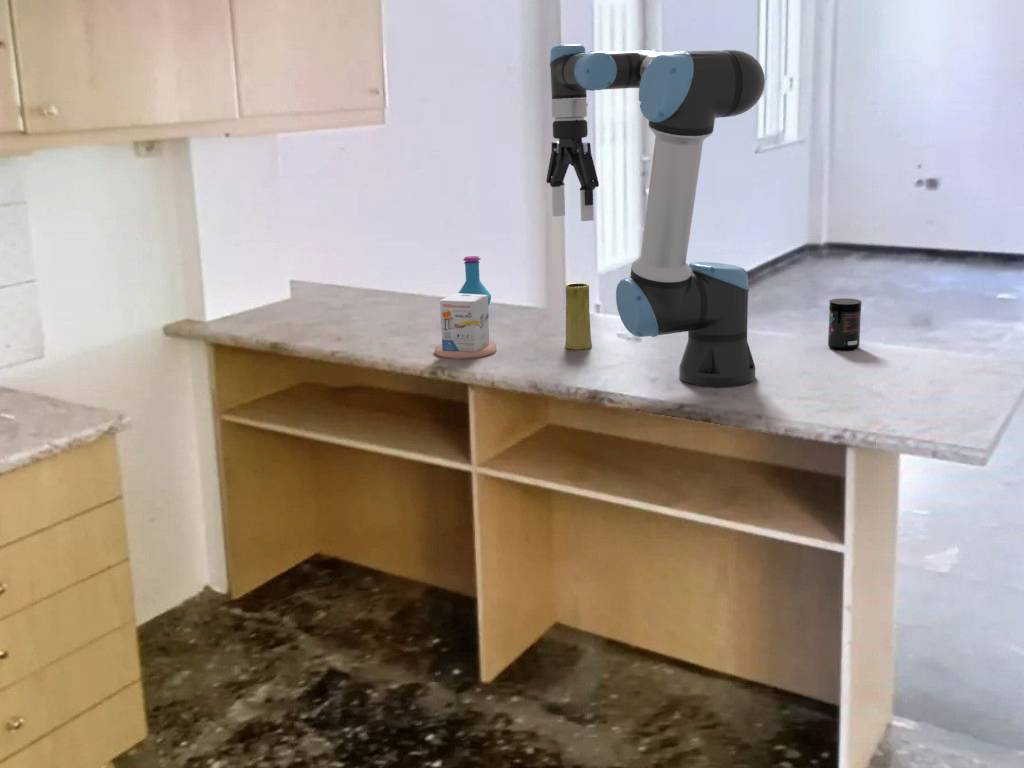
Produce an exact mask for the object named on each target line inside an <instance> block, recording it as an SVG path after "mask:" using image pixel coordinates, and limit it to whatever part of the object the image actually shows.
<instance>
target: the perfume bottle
mask: <svg viewBox="0 0 1024 768" xmlns="http://www.w3.org/2000/svg"><path fill="white" fill-rule="evenodd" d="M480 260H481V257H479V256H476V255H469V256H468V255H467V256H465V257H464V258H463V259H462V261H464V266H465V267H464V268H465V270H464V271H465V272H464V273H465V282H464V283H463V284H462V287H461V288H460V289H459V291H458V292H457V293H463V294H480V295H488V307H489V305H490V303H491V300H492V295H491V293H490V292H489V291H488V289H487V288H486V287H485V286H484V285H483V283H482V281H480Z"/></svg>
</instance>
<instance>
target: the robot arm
mask: <svg viewBox="0 0 1024 768" xmlns="http://www.w3.org/2000/svg"><path fill="white" fill-rule="evenodd" d="M549 67H550V87H551V88H550V89H551V118H553V119H554V121H553V122H552V137H553V138H554V139H557V140H558V141H552V142H551V153H550V159H549V162H548V163H549V164H548V169H547V175H546V183H547V184H549V185H550V187H551V197H552V198H551V200H552V201H551V202H552V203H551V204H552V216H553V217H563V216H564V217H565V216H566V205H565V204H566V201H565V199H566V198H565V182H564V179H565V177H566V174H567V171H568V169H569V166H572V167H573V168H574V169H573V170H574V171H575V174H576V177H577V180H578V182H579V183H580V188H579V195H580V196H579V199H580V201H579V202H580V203H579V204H580V221H581V222H589V221H594V220H595V219H594V218H595V216H594V211H595V210H594V190H595V189H596V188H598V187H599V185H600V183H599V179H598V175H597V171H596V168H595V163H594V160H593V159H594V158H593V155H592V148H591V143H590V142H583V138H587V136H588V135H589V134H588V133H589V132H588V131H589V130H588V121H587V120H586V119H585V118H586V117H587V115H588V109H587V107H588V106H589V105H588V104H589V103H587V91H601V90H619V89H620V90H622V89H638V101H639V102H640V105H639V108H640V111H641V113H642V115H643V117H644V118H645V119H646V120H648V128H649V129H650V130H651V131H652V133H653V134H654V137H655V139H654V147H653V154H652V155H653V156H652V162H651V163H652V164H651V171H650V179H649V187H648V194H647V204H646V209H645V210H646V211H645V219H644V226H643V227H644V228H643V235H642V236H643V237H642V244H641V252H640V257H639V258H637V259H635V260H634V261H633V262H632V263H631V268H630V276H629V277H624V278H622V279H620V281H619V282H618V284H617V286H616V290H615V300H616V301H615V303H616V308H617V312H618V315H619V317H620V320H621V323H622V324H623V326H624V327H625V329H626V330H627V331H628V332H629V333H630V334H631V335H633V336H635V337H638V338H644V337H645V338H646V337H652V338H656V337H657V336H663V335H671V334H679V333H684V332H686V333H687V332H688V334H687V335H688V336H687V337H688V338H687V343H686V346H685V348H684V352H683V355H682V358H681V361H680V364H679V369H678V373H679V374H678V375H679V376H678V378H679V379H680V381H683V382H685V383H687V384H691V385H695V386H700V387H701V386H702V387H710V388H711V387H712V388H713V387H714V388H715V387H717V388H718V387H719V388H721V387H735V386H744V385H746V384H750V383H752V382H753V381H754V380H755V379H756V365H755V361H754V358H753V355H752V352H751V348H750V346H749V342H748V322H749V321H748V320H749V319H748V318H749V317H748V315H749V314H748V313H749V311H748V310H749V309H748V308H749V292H750V287H749V286H750V285H749V275H748V272H747V270H746V269H745V268H743V267H741V266H739V265H734V264H729V263H723V262H722V263H720V262H713V261H693V262H692V261H691V262H690V263H689V264H688V263H687V256H688V248H689V242H690V235H691V228H692V222H693V214H694V209H695V207H694V206H695V202H696V201H695V199H696V193H697V185H698V179H699V173H700V165H701V157H702V151H703V145H704V141H705V140H706V139H707V138H708V137H710V136H711V135H712V134H713V132H714V128H715V127H714V126H715V122H716V119H719V118H727V117H728V118H729V117H736V116H739V115H742V114H744V113H746V112H748V111H750V110H751V109H752V108H753V107H754V106H755V105H757V103H758V101H759V100H760V99H761V97H762V95H763V92H764V89H765V84H766V81H765V78H766V77H765V73H764V69H763V67H762V65H761V64H760V62H759V61H758V59H756V58H755V57H754V56H753V55H751V54H749V53H747V52H745V51H742V50H741V51H740V50H734V49H725V50H676V51H673V52H668V51H667V50H660V49H649V50H631V51H630V50H628V51H624V50H623V51H601V50H600V51H599V50H598V51H597V50H596V51H593V50H591V51H588V52H586V47H585V46H584V45H583V44H562V45H561V44H560V45H559V44H558V45H554V46H552V47H551V49H550V60H549Z"/></svg>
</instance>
